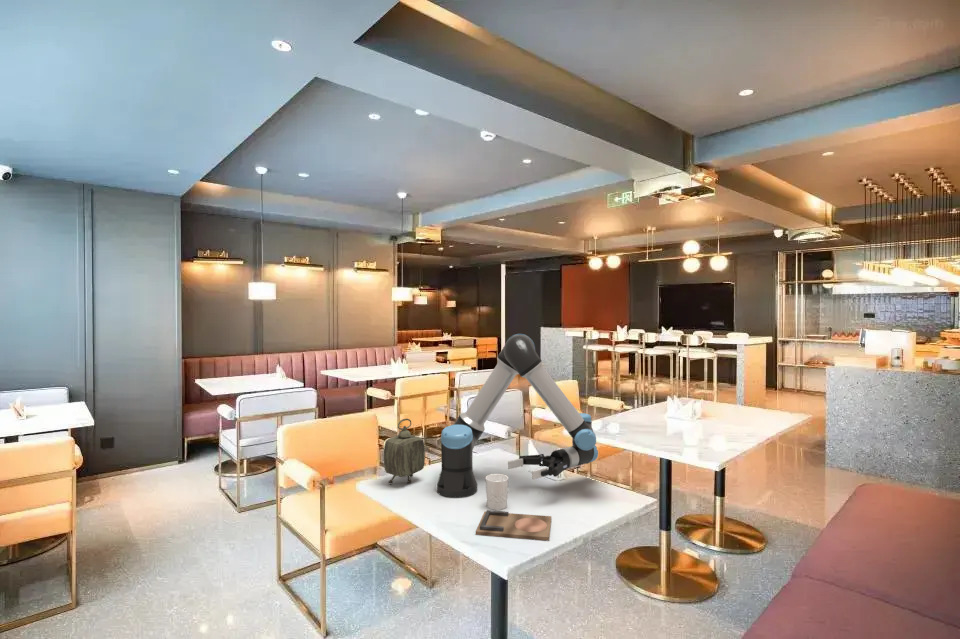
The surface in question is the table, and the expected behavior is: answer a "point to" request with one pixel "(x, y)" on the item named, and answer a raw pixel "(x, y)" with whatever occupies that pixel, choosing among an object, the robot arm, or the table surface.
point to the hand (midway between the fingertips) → (520, 470)
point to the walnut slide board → (514, 525)
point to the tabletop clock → (404, 454)
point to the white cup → (496, 491)
